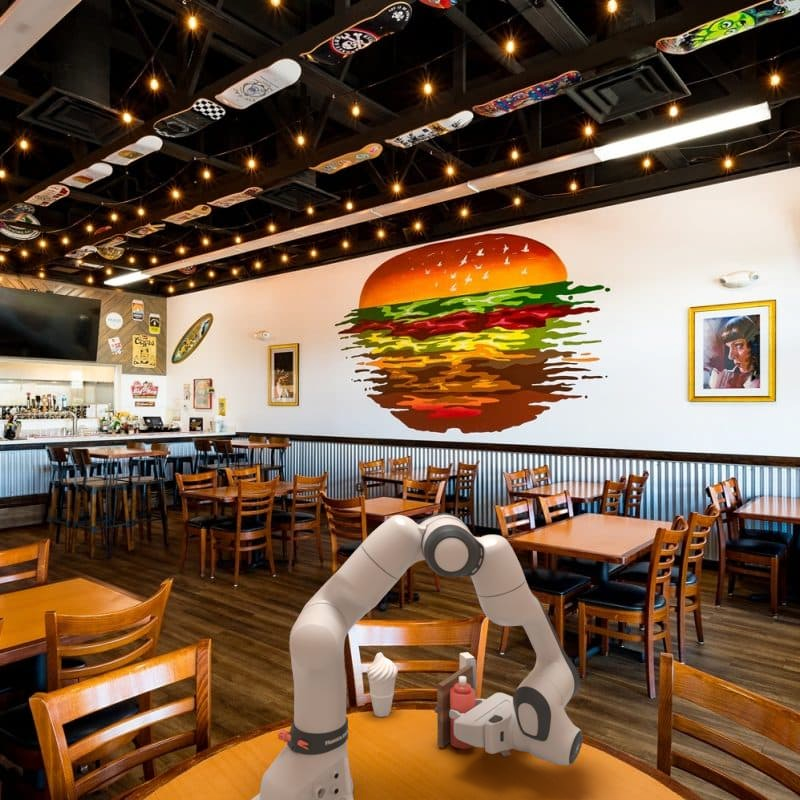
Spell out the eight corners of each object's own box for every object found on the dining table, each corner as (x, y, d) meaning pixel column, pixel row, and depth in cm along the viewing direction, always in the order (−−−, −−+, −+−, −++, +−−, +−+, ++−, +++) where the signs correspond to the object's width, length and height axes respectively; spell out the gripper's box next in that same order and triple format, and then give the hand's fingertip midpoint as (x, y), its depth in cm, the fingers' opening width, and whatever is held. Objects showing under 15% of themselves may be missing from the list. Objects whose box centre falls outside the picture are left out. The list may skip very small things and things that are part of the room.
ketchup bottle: (477, 748, 142) (476, 682, 143) (451, 748, 142) (451, 682, 143) (473, 735, 148) (473, 672, 149) (449, 735, 148) (448, 672, 149)
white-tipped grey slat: (502, 756, 142) (502, 687, 142) (459, 713, 163) (459, 653, 163) (511, 754, 142) (511, 685, 143) (467, 712, 163) (467, 652, 164)
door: (432, 743, 146) (431, 682, 147) (462, 719, 158) (462, 663, 159) (442, 747, 145) (442, 686, 145) (473, 722, 157) (473, 665, 157)
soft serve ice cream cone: (403, 711, 164) (403, 651, 165) (386, 724, 157) (386, 661, 158) (377, 703, 169) (377, 645, 169) (360, 715, 162) (360, 654, 162)
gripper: (531, 694, 146) (482, 679, 154) (487, 727, 130) (435, 708, 139) (532, 721, 145) (482, 705, 154) (487, 757, 130) (435, 736, 138)
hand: (459, 706), depth 146 cm, fingers closed on ketchup bottle, 6 cm apart
